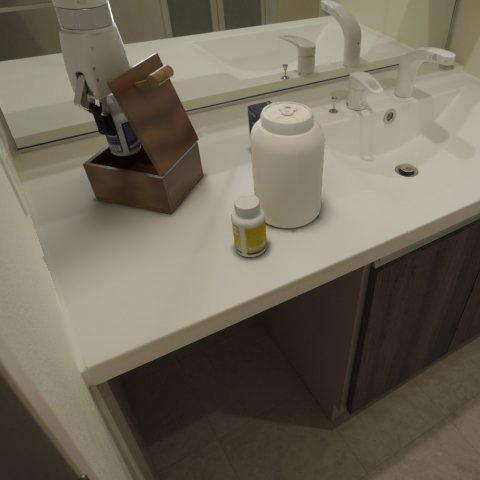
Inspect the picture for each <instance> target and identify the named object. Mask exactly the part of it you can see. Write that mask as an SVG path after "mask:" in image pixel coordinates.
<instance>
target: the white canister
mask: <svg viewBox="0 0 480 480" xmlns="http://www.w3.org/2000/svg"><path fill="white" fill-rule="evenodd" d="M271 103H272V104H269V105H267V106H266V107H264V108H263V110H262V112H261V115H260V119H259V120H258V121H257V122H256V123H255V124H254V126H253V127H252V130H251V135H250V134H249V142H250V144H249V145H250V155H251V156H250V157H251V168H252V181H253V183H252V184H253V195H255V196H257V197H258V198H259V200H260V208H261V209H262V210H263V211H264V213H265V223H266V224H267V225H270V226H272V227H274V228H275V227H276V228H282V229H297V228H300V227H303V226H307V225H309V224H310V223H312V222H313V221H314V220H316V218H317V217H318V215H319V214H320V211H321V208H322V195H323V181H324V180H323V178H324V161H325V160H324V159H325V141H326V139H325V134H324V130H323V128H322V125H321V124H320V123H319V122H318V121H316V119H315V115H314V112H313V110H312V109H311V107H309V105H306V104H304V103H301V102H296V101H289V100H288V101H287V100H285V101H283V100H282V101H276V102H271Z"/></svg>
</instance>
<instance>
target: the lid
mask: <svg viewBox="0 0 480 480" xmlns="http://www.w3.org/2000/svg"><path fill="white" fill-rule="evenodd" d="M174 72H175V71H174V69H173V67H172V66H171V65H169V64H164V63H163V62H162V59H161V57H160V55H159V53H158V52H155V53H153V54H151V55H150V56H148V57H146V58H145V59H143V60H141V61H139V62H137V63H136V64H135V65H132V66H131V68H129V69H128V70H126V71H125V72H123V73H121V74H120V75H118V76H116V77H115V78H113V79H111V80H110V81H108V82H107V85H108V87H109V89H110V90H111V92H112V93H111V95H113V96H114V97H115V99H116V101H117V103H118V104H119V106H120V108H121V110H122V111H123V113H124V115H125V116H126V118H127V120H128V122H129V123H130V125H131V127H132V129H133V130H134V132H135V134H136V136H137V137H138V139H139V141H140V143H141V144H142V146H143V148H144V149H145V151H146V153H147V155H148V156H149V158H150V160H151V162H152V163H153V165H154V167H155V169H156V170H157V172H158V174H159V176H160V177H163V176H165V175H166V174H167V172H168V171H169V170H170V169H171V168H172V167H173V166H174V165H175V164H176V163H177V162H178V161H179V160H180V159H181V158H182V157H183V156H184V155H185V154H186V153H187V151H188V150H189V149H190V148H191V147H192V146H193V145H194V144H195V143H196V142H199V140H200V139H199V137H198V135H197V132H196V130H195V128H194V126H193V124H192V121H191V119H190V117H189V116H188V115H189V114H188V113H187V111H186V109H185V107H184V105H183V102H182V101H181V98H180V97H179V94H178V92H177V90H176V88H175V87H174V84H173V83H172V80H171V78H172V77H173V76H174V74H175V73H174Z"/></svg>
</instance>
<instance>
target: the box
mask: <svg viewBox="0 0 480 480" xmlns="http://www.w3.org/2000/svg"><path fill="white" fill-rule="evenodd" d="M272 103H273V102H271V100H268V101H263V102H259V103H255V104H254V103H253V104H251V105H247V118H248V130H249V131H248V132H249V136H250V135H251V130H252V127H253V126H254V124H255V123H256V122H257V121H258V120H259V119H260V115H261V112H262V110H263V108H264V107H266V106H267V105H269V104H272Z"/></svg>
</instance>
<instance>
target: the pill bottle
mask: <svg viewBox="0 0 480 480" xmlns="http://www.w3.org/2000/svg"><path fill="white" fill-rule="evenodd" d="M106 97H107V109H108V114H111V115H112V118H113V121H114V124H115V128H116V131H117V135H116V136H109V135H104V136H105V139H106V142H107V145H108V144H109V147H110V150H111V152H112V153H113V154H114V155H117V156H128V155H132V154H135V153H137V152H138V151H139V150H140V148H141V144H140V141H139V139H138V137H137V136H136V134H135V132H134V130H133V129H132V127H131V125H130V123H129V122H128V120H127V118H126V116H125V115H124V113H123V111H122V110H121V108H120V106H119V104H118V103H117V101H116V99H115V97H114V96H113V94H109V95H108V96H106Z"/></svg>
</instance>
